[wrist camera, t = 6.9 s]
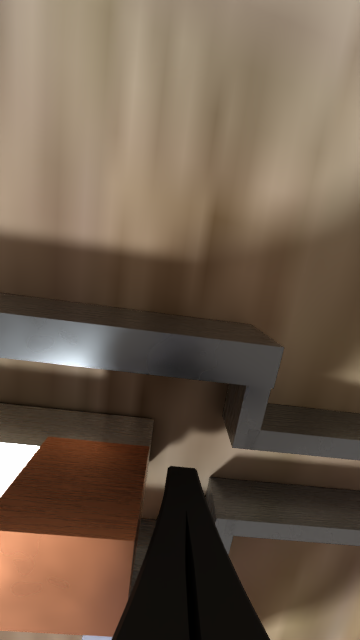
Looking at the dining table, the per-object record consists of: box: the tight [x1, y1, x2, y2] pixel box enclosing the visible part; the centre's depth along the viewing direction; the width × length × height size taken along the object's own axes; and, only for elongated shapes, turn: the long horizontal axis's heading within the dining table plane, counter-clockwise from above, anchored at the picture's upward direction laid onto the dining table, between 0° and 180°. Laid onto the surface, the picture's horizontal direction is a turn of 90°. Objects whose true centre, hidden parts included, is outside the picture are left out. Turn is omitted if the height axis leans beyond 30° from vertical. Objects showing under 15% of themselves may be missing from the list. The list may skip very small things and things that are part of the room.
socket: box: [0, 293, 360, 594], centre depth 10 cm, size 14×25×3 cm, turn 82°
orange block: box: [0, 403, 154, 637], centre depth 8 cm, size 4×11×5 cm, turn 83°
